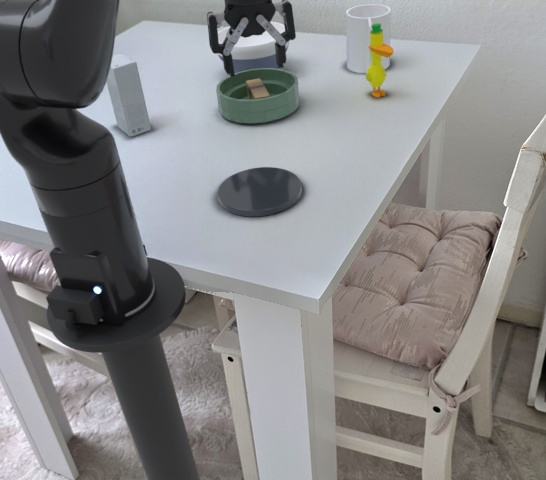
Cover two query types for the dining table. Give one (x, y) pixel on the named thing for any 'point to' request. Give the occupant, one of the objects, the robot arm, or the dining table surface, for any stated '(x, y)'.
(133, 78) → the cosmetic box
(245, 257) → the dining table surface
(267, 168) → the plate
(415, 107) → the dining table surface
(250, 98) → the clip
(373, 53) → the toy figure
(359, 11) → the cup
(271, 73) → the green bowl
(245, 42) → the bowl
